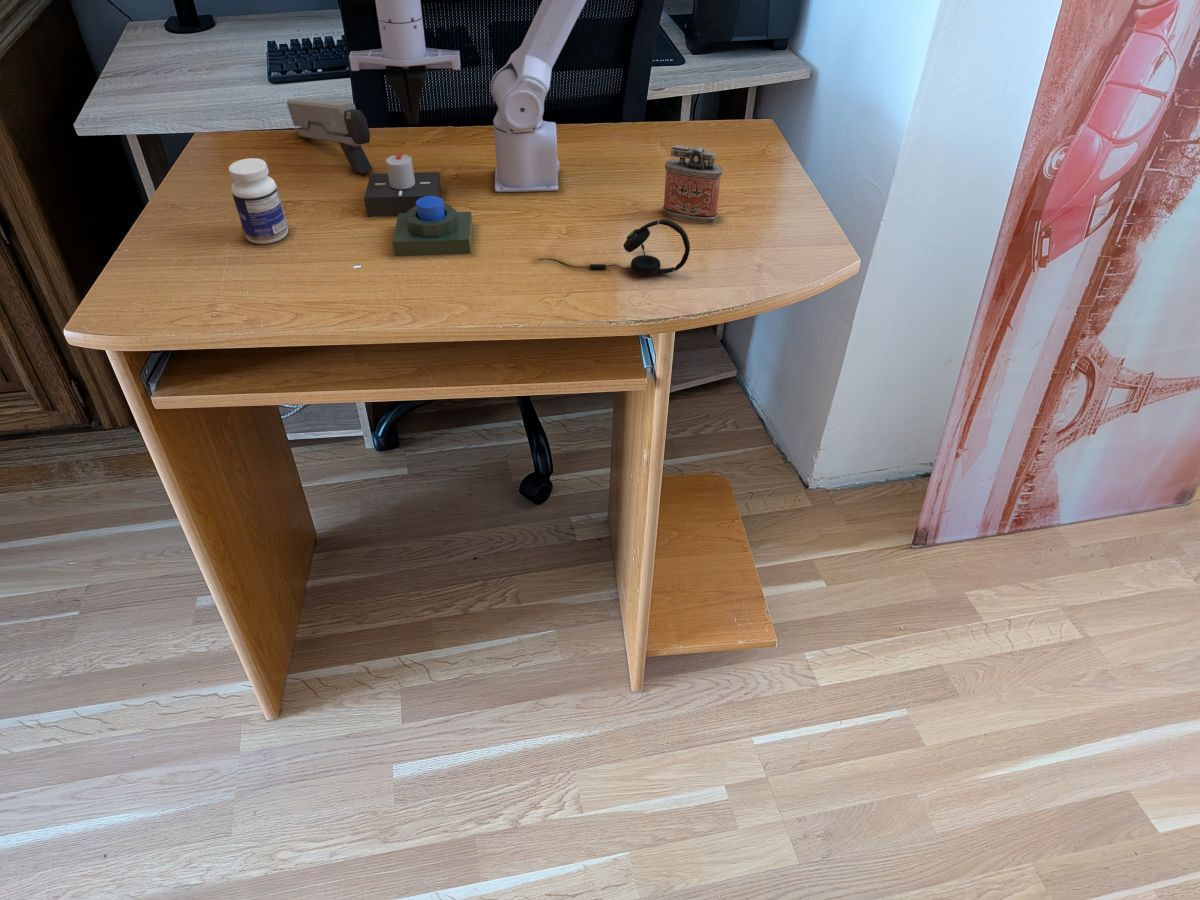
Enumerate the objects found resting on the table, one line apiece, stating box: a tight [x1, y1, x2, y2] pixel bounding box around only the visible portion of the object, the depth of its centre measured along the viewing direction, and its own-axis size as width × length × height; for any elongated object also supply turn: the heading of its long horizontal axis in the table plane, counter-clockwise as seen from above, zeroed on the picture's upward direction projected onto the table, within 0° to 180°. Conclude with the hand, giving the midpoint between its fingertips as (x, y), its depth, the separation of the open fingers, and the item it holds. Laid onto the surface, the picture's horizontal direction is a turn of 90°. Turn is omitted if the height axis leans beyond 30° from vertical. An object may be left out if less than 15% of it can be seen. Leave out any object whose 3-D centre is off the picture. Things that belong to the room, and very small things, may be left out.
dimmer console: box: [363, 171, 443, 218], centre depth 121 cm, size 10×8×3 cm
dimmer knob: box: [385, 152, 415, 189], centre depth 119 cm, size 4×4×4 cm
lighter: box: [661, 144, 723, 225], centre depth 117 cm, size 8×3×10 cm, turn 71°
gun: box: [286, 97, 373, 175], centre depth 132 cm, size 2×25×10 cm, turn 41°
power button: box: [416, 196, 445, 221], centre depth 111 cm, size 4×4×2 cm
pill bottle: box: [228, 157, 289, 245], centre depth 111 cm, size 6×6×10 cm
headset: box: [537, 219, 691, 276], centre depth 109 cm, size 7×7×20 cm
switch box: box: [392, 203, 474, 257], centre depth 112 cm, size 10×8×4 cm
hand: (413, 121), depth 118 cm, fingers closed
